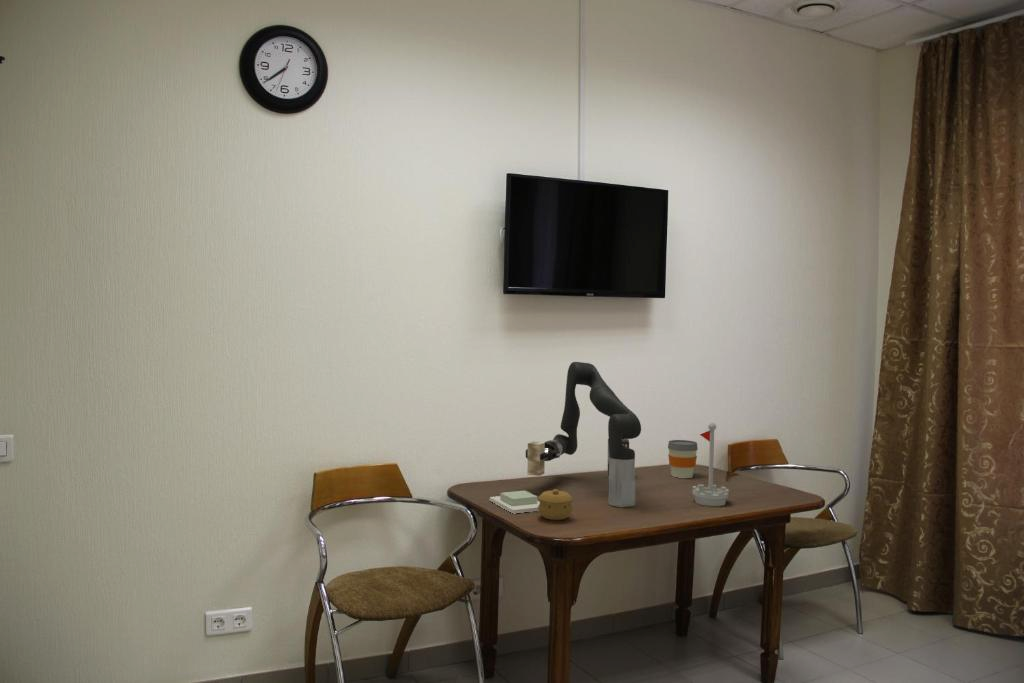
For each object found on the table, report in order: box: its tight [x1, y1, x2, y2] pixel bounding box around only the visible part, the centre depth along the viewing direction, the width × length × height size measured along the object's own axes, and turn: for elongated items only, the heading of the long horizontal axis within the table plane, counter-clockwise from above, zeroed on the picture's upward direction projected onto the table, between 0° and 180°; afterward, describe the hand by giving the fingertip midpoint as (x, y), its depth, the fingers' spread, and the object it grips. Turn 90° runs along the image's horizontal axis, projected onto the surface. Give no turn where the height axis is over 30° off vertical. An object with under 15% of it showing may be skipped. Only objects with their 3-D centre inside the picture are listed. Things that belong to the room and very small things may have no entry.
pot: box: [537, 488, 574, 521], centre depth 261 cm, size 12×12×10 cm
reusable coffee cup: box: [667, 439, 699, 479], centre depth 332 cm, size 13×13×15 cm
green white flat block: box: [489, 490, 540, 515], centre depth 277 cm, size 20×14×4 cm
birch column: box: [527, 441, 546, 477], centre depth 295 cm, size 5×5×12 cm
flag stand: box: [692, 422, 730, 507], centre depth 287 cm, size 13×13×30 cm
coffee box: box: [606, 438, 630, 479], centre depth 328 cm, size 9×6×16 cm
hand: (534, 456), depth 293 cm, fingers closed on birch column, 5 cm apart
